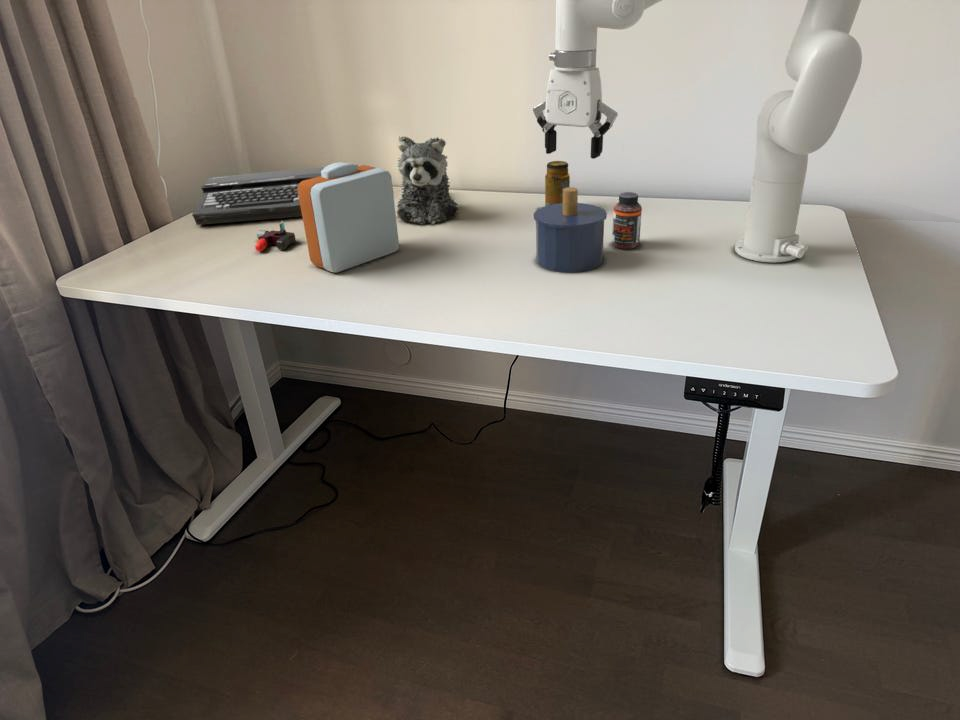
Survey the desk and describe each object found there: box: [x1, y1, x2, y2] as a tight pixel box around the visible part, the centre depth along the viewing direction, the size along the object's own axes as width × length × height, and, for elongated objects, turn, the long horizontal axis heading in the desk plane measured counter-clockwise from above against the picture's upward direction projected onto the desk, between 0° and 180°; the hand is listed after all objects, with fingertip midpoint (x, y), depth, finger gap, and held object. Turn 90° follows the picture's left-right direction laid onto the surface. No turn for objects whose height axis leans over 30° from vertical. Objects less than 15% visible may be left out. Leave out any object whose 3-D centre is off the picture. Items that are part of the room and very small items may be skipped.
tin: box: [535, 220, 605, 273], centre depth 144 cm, size 14×14×10 cm
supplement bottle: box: [611, 191, 643, 250], centre depth 150 cm, size 6×6×11 cm
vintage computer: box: [191, 164, 359, 226], centre depth 190 cm, size 43×29×8 cm
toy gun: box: [254, 220, 297, 252], centre depth 163 cm, size 10×12×5 cm
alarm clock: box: [297, 161, 400, 274], centre depth 149 cm, size 18×9×21 cm, turn 134°
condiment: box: [540, 160, 571, 208], centre depth 173 cm, size 7×8×12 cm
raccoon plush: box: [396, 136, 459, 226], centre depth 176 cm, size 15×32×21 cm, turn 14°
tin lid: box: [533, 186, 608, 228], centre depth 140 cm, size 15×15×6 cm
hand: (572, 154), depth 136 cm, fingers open, 9 cm apart
